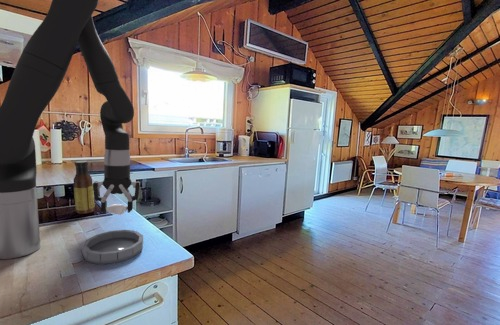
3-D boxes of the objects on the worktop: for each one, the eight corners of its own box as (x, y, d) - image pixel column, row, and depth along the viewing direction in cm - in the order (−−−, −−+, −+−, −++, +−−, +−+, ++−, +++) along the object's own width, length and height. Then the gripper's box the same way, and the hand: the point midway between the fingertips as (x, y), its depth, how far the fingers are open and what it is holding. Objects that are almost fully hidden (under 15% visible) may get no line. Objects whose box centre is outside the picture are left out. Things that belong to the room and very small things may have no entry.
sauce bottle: (91, 208, 105) (89, 159, 102) (97, 212, 101) (95, 161, 98) (72, 211, 100) (69, 160, 97) (78, 216, 96) (75, 163, 93)
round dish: (75, 267, 63) (75, 256, 63) (91, 241, 77) (91, 232, 76) (140, 260, 68) (140, 250, 67) (144, 236, 81) (144, 228, 81)
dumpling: (108, 219, 82) (108, 206, 82) (103, 214, 86) (103, 202, 85) (131, 214, 87) (131, 203, 87) (126, 210, 91) (126, 199, 90)
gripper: (89, 164, 78) (89, 217, 80) (140, 165, 83) (139, 215, 85) (94, 160, 85) (95, 209, 87) (141, 161, 90) (141, 208, 92)
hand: (117, 212), depth 86 cm, fingers closed on dumpling, 6 cm apart
